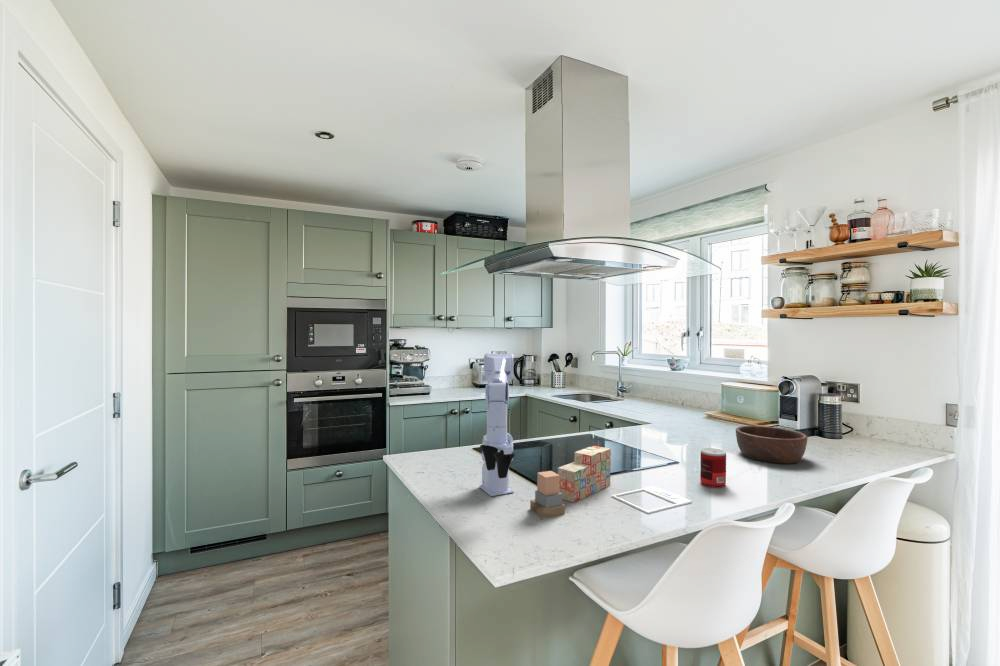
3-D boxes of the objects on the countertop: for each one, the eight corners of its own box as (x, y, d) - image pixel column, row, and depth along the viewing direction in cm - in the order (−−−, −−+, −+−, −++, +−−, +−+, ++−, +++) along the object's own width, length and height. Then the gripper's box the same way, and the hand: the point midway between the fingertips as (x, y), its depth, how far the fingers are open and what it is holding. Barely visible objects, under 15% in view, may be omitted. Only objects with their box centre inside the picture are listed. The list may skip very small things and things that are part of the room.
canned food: (727, 482, 154) (727, 450, 154) (723, 489, 147) (724, 455, 147) (702, 478, 158) (703, 446, 158) (698, 485, 151) (698, 451, 151)
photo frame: (692, 500, 136) (648, 511, 127) (692, 504, 136) (647, 515, 127) (653, 485, 149) (611, 494, 140) (653, 488, 149) (611, 498, 140)
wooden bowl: (730, 446, 201) (730, 423, 201) (796, 452, 194) (796, 427, 193) (741, 462, 178) (741, 436, 178) (816, 469, 170) (817, 441, 170)
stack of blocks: (574, 503, 135) (574, 461, 135) (556, 498, 139) (557, 457, 139) (610, 485, 151) (611, 448, 151) (594, 481, 155) (594, 444, 155)
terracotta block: (537, 490, 130) (537, 472, 130) (551, 488, 132) (551, 470, 132) (545, 495, 126) (545, 477, 126) (559, 493, 128) (559, 475, 128)
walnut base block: (530, 510, 130) (530, 500, 130) (551, 506, 133) (551, 496, 133) (543, 519, 124) (543, 508, 124) (564, 515, 127) (564, 504, 127)
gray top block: (535, 501, 129) (535, 490, 129) (551, 497, 132) (551, 487, 132) (546, 508, 125) (546, 497, 125) (562, 504, 127) (562, 493, 127)
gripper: (473, 421, 133) (473, 468, 134) (495, 431, 120) (494, 483, 121) (495, 419, 137) (495, 465, 137) (518, 429, 123) (518, 479, 124)
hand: (496, 473), depth 129 cm, fingers open, 7 cm apart
